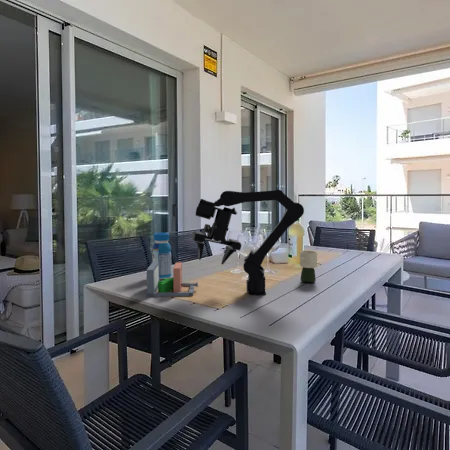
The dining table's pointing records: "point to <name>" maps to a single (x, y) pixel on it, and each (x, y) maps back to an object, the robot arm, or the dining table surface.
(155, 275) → the vise body
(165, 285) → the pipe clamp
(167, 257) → the beverage bottle
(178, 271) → the sliding jaw
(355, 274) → the dining table surface
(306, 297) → the dining table surface
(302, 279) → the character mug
